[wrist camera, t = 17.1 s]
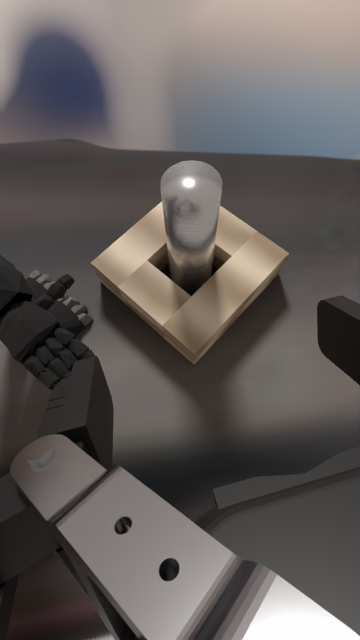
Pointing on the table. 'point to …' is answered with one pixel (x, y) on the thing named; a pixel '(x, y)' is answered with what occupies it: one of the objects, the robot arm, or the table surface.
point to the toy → (41, 323)
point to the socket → (172, 301)
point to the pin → (191, 221)
